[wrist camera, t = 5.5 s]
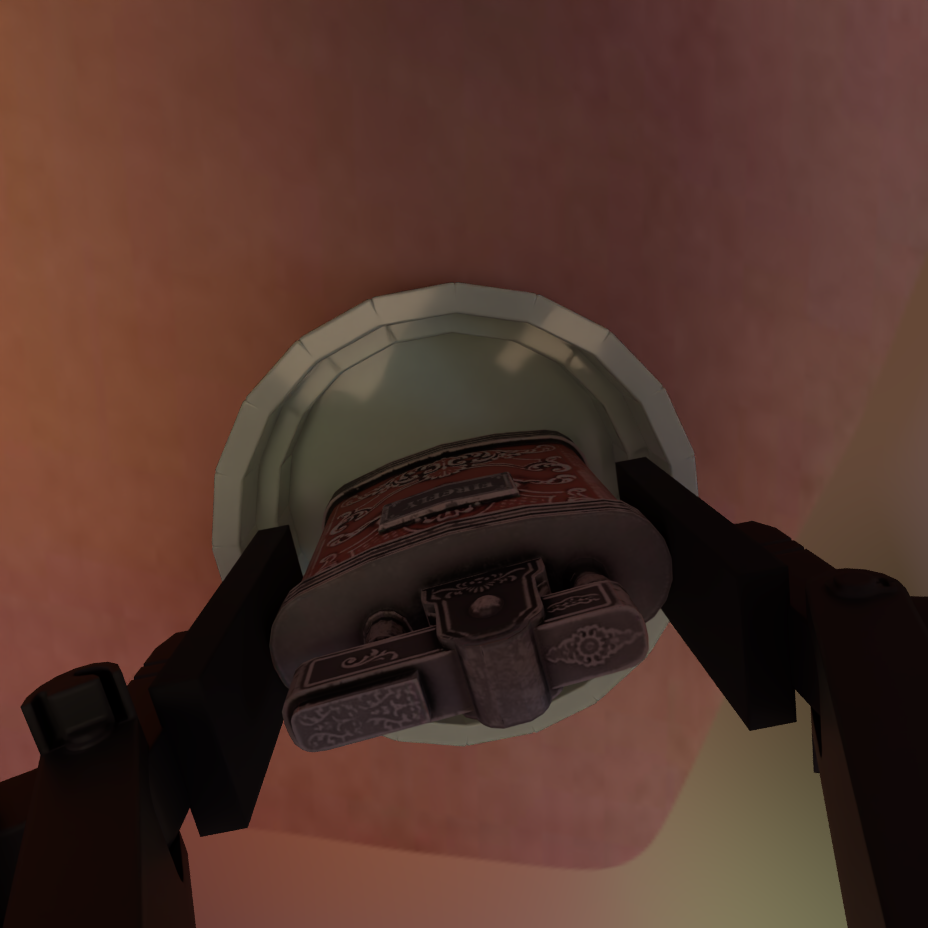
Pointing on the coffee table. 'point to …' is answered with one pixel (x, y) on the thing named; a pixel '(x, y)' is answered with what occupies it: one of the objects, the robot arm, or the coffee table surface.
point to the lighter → (465, 591)
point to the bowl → (438, 423)
